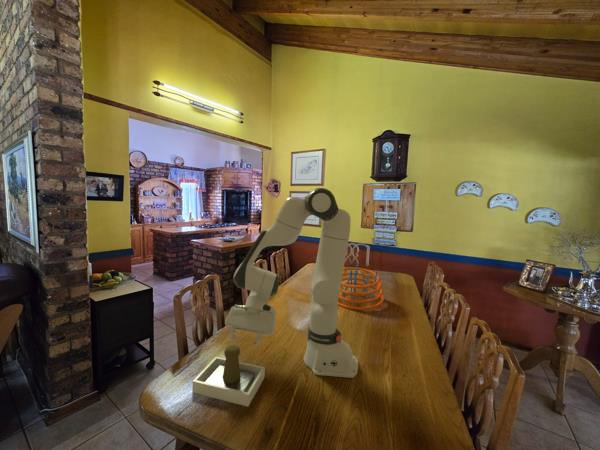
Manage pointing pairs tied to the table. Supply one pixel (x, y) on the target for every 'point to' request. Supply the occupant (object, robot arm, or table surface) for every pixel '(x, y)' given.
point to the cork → (231, 364)
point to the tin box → (240, 385)
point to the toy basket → (365, 286)
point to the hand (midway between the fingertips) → (244, 342)
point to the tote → (224, 392)
